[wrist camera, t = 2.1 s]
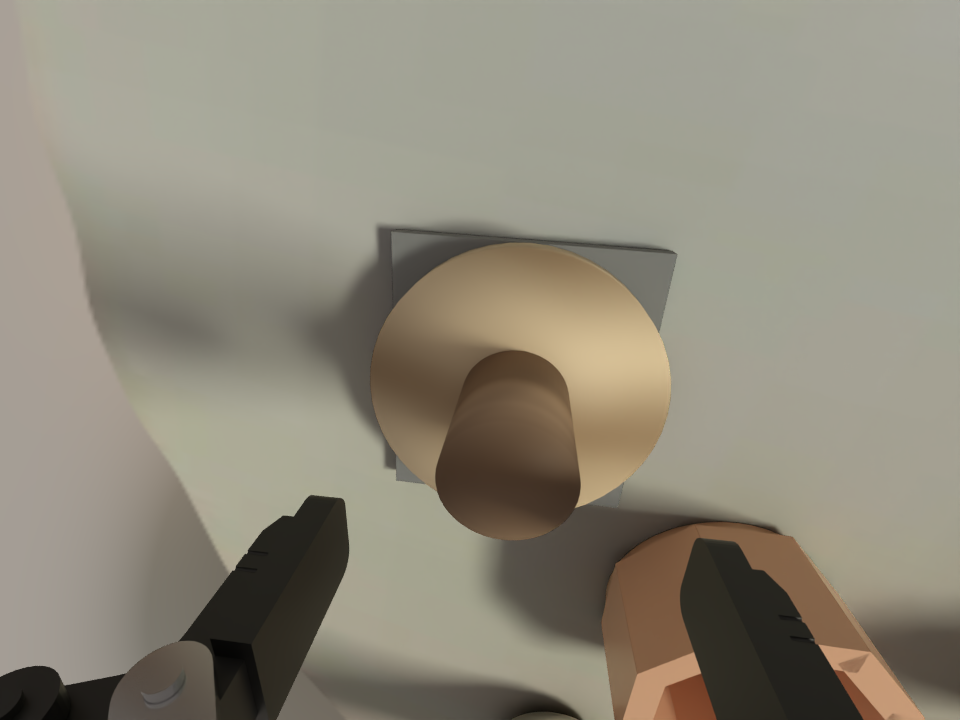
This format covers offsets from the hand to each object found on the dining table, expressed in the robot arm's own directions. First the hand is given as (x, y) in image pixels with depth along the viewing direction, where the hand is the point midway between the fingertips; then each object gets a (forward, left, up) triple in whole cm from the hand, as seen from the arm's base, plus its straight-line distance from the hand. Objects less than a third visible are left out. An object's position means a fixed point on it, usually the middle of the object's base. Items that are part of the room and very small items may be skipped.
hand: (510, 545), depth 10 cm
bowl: (+9, +9, -7) cm, 15 cm away
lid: (-1, 0, -7) cm, 7 cm away
